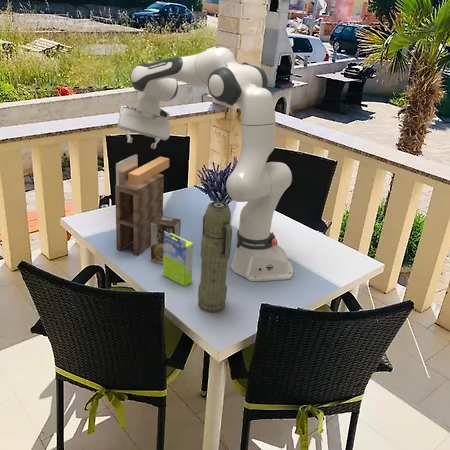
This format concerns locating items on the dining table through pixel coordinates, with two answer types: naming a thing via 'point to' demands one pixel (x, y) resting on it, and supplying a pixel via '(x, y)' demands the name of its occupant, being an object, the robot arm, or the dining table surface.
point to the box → (177, 258)
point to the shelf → (137, 212)
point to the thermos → (215, 257)
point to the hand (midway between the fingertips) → (141, 145)
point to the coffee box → (162, 235)
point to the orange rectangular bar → (148, 170)
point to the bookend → (125, 169)
